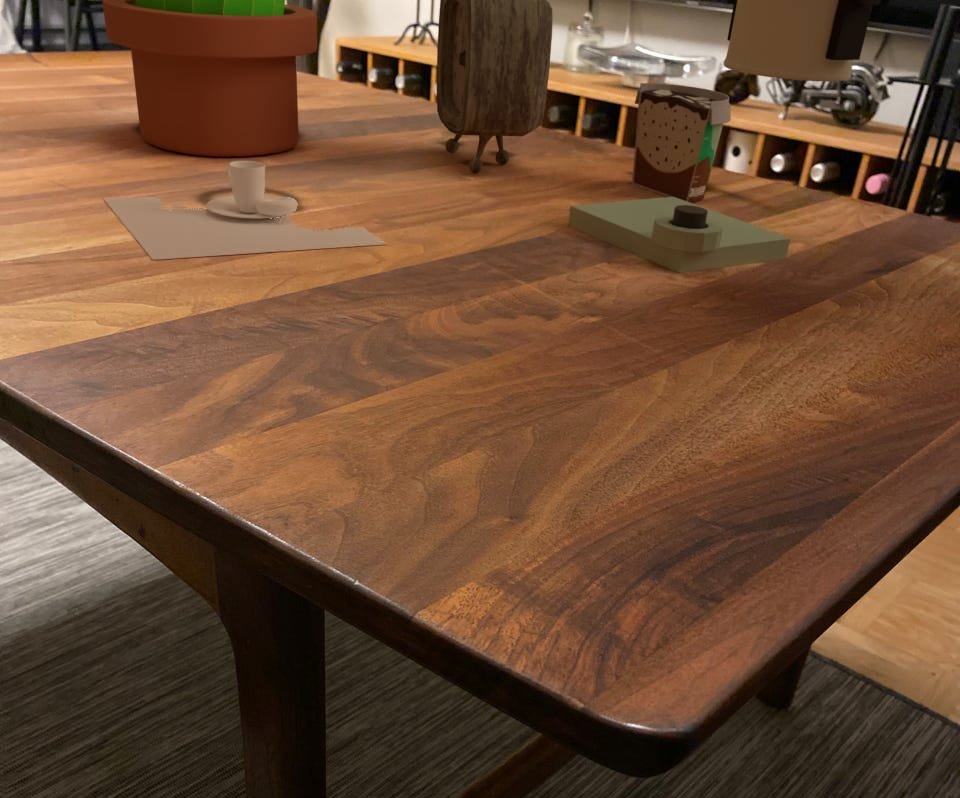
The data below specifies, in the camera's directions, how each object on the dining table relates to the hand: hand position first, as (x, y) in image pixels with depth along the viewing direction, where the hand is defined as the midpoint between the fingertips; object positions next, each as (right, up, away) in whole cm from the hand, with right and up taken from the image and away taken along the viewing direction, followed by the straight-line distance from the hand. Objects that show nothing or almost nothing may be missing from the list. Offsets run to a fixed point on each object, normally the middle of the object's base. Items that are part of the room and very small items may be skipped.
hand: (790, 49), depth 75 cm
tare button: (-5, -8, +13) cm, 16 cm away
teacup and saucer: (-44, -6, +17) cm, 48 cm away
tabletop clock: (-22, +12, +44) cm, 51 cm away
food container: (-1, +6, +39) cm, 40 cm away
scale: (-5, -6, +21) cm, 23 cm away
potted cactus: (-53, +15, +45) cm, 71 cm away
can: (0, -1, +1) cm, 2 cm away
